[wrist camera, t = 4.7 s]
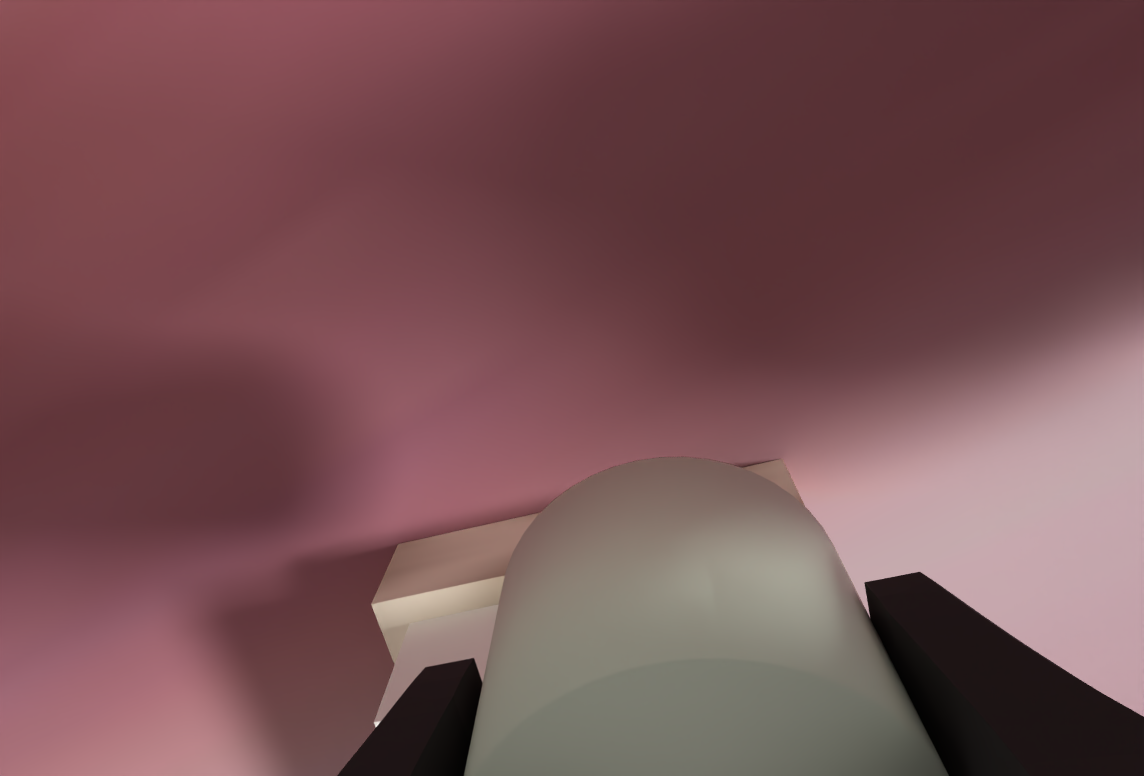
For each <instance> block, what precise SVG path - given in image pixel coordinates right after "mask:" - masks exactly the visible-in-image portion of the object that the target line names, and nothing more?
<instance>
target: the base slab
mask: <svg viewBox="0 0 1144 776" xmlns="http://www.w3.org/2000/svg"><path fill="white" fill-rule="evenodd" d="M743 469H746V470H748V471H751V472H754V473H756V474H758V475H760V476H762V477H764V478H766V479H768V480H770V481H772V482H773V483H775V484H777V485H778V486H779V487H781V488H782V489H784V490H785V491H787V492H788V493H790V494H791V495H792V496H794V497H795V498H796V499H797V500H798V501H799V502H800V503H801V504H802V505H803V506H805V505H804V503H803V501H802V499H801V497H800V495H799V493H798V491H797V489H796V486H795V484H794V482H793V480H792V478H791V476H790V474H789V472H788V470H787V467H786V465H785V463H784V461H783V459H779V460H774V461H770V462H765V463H761V464H756V465H752V466H747V467H743ZM540 513H541V512H540ZM540 513H536V514H531V515H527V516H523V517H518V518H514V519H509V520H505V521H500V522H496V523H491V524H487V525H482V526H478V527H473V528H469V529H464V530H460V531H455V532H451V533H446V534H442V535H437V536H433V537H428V538H424V539H419V540H415V541H410V542H406V543H401V544H398V546H397V548H396V550H395V552H394V555H393V557H392V559H391V561H390V563H389V566H388V568H387V570H386V572H385V574H384V577H383V579H382V581H381V583H380V586H379V588H378V590H377V592H376V594H375V597H374V599H373V601H372V603H371V605H372V608H373V611H374V613H375V616H376V618H377V621H378V623H379V626H380V629H381V631H382V634H383V636H384V639H385V641H386V644H387V647H388V649H389V652H390V654H391V657H392V659H393V662H394V665H395V662H396V659H397V657H398V654H399V651H400V648H401V646H402V643H403V640H404V637H405V635H406V632H407V629H408V626H409V624H410V623H413V622H418V621H422V620H427V619H432V618H437V617H441V616H446V615H451V614H455V613H460V612H465V611H469V610H474V609H479V608H483V607H488V606H493V605H497V604H499V600H500V596H501V591H502V586H503V582H504V577H505V573H506V569H507V566H508V564H509V561H510V559H511V556H512V554H513V551H514V549H515V548H516V546H517V544H518V542H519V541H520V539H521V537H522V535H523V534H524V532H525V531H526V530H527V528H528V527H529V526H530V524H531V523H532V522H533V521H534V519H535V518H536V517H537V516H538V515H539V514H540Z"/></svg>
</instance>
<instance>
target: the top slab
mask: <svg viewBox="0 0 1144 776" xmlns="http://www.w3.org/2000/svg"><path fill="white" fill-rule="evenodd" d="M498 605H499V604H497V605H493V606H488V607H483V608H479V609H474V610H469V611H465V612H460V613H455V614H451V615H446V616H441V617H437V618H432V619H427V620H422V621H418V622H413V623H410V624H409V626H408V629H407V632H406V635H405V637H404V640H403V643H402V646H401V648H400V651H399V654H398V657H397V659H396V662H395V665H394V668H393V671H392V673H391V676H390V679H389V682H388V684H387V687H386V690H385V693H384V695H383V698H382V701H381V704H380V706H379V709H378V712H377V715H376V717H375V720H374V724H375V727H377V726H378V724H379V723H380V722H381V721H382V719H383V718H384V717H385V716H386V714H387V713H388V712H389V711H390V709H391V708H392V707H393V705H394V704H395V703H396V702H397V700H398V699H399V698H400V697H401V695H402V694H403V693H404V692H405V690H406V689H407V688H408V687H409V685H410V684H411V683H412V682H413V681H414V679H415V678H416V677H417V676H418V675H419V674H420V673H421V671H422V670H423V669H424V668H425V667H429V666H434V665H439V664H445V663H450V662H455V661H460V660H465V659H470V658H474V659H475V662H476V665H477V668H478V671H479V674H480V677H481V680H482V683H483V679H484V674H485V669H486V664H487V659H488V654H489V649H490V645H491V640H492V635H493V630H494V625H495V620H496V615H497V610H498Z"/></svg>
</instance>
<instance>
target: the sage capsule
mask: <svg viewBox="0 0 1144 776" xmlns="http://www.w3.org/2000/svg"><path fill="white" fill-rule="evenodd" d="M464 776H949V775H948V773H947V771H946V769H945V767H944V765H943V763H942V761H941V759H940V757H939V755H938V753H937V751H936V749H935V747H934V745H933V743H932V741H931V739H930V737H929V735H928V733H927V731H926V729H925V727H924V725H923V723H922V721H921V719H920V717H919V715H918V713H917V711H916V709H915V707H914V705H913V703H912V701H911V699H910V697H909V695H908V693H907V691H906V689H905V687H904V685H903V683H902V681H901V679H900V677H899V675H898V673H897V671H896V669H895V667H894V665H893V663H892V661H891V659H890V657H889V655H888V653H887V651H886V649H885V647H884V645H883V643H882V641H881V639H880V637H879V635H878V633H877V631H876V629H875V627H874V625H873V623H872V621H871V619H870V617H869V615H868V613H867V611H866V609H865V607H864V605H863V603H862V601H861V599H860V597H859V595H858V593H857V591H856V589H855V587H854V585H853V583H852V581H851V579H850V577H849V575H848V573H847V571H846V569H845V567H844V565H843V563H842V561H841V559H840V557H839V555H838V553H837V551H836V549H835V547H834V545H833V544H832V542H831V540H830V539H829V537H828V535H827V534H826V532H825V530H824V529H823V527H822V526H821V525H820V523H819V522H818V521H817V520H816V518H815V517H814V516H813V515H812V514H811V512H810V511H809V510H808V509H807V508H806V507H805V506H803V505H802V504H801V503H800V502H799V501H798V500H797V499H796V498H795V497H794V496H792V495H791V494H790V493H788V492H787V491H785V490H784V489H782V488H781V487H779V486H778V485H777V484H775V483H773V482H772V481H770V480H768V479H766V478H764V477H762V476H760V475H758V474H756V473H754V472H751V471H748V470H746V469H743V468H740V467H737V466H734V465H732V464H727V463H723V462H718V461H714V460H709V459H701V458H691V457H659V458H652V459H645V460H638V461H633V462H630V463H626V464H622V465H618V466H615V467H612V468H609V469H607V470H604V471H602V472H599V473H597V474H594V475H592V476H590V477H588V478H586V479H585V480H583V481H581V482H579V483H577V484H576V485H574V486H572V487H570V488H569V489H568V490H566V491H565V492H564V493H562V494H561V495H560V496H558V497H557V498H556V499H554V500H553V501H552V502H551V503H550V504H549V505H548V506H547V507H546V508H545V509H544V510H543V511H542V512H541V513H540V514H539V515H538V516H537V517H536V518H535V519H534V521H533V522H532V523H531V524H530V526H529V527H528V528H527V530H526V531H525V532H524V534H523V535H522V537H521V539H520V541H519V542H518V544H517V546H516V548H515V549H514V551H513V554H512V556H511V559H510V561H509V564H508V566H507V569H506V573H505V577H504V582H503V586H502V591H501V596H500V600H499V605H498V610H497V615H496V620H495V625H494V630H493V635H492V640H491V645H490V649H489V654H488V659H487V664H486V669H485V674H484V679H483V684H482V689H481V694H480V698H479V703H478V708H477V713H476V718H475V723H474V728H473V733H472V738H471V743H470V747H469V752H468V757H467V762H466V767H465V772H464Z"/></svg>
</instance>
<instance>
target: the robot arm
mask: <svg viewBox="0 0 1144 776" xmlns="http://www.w3.org/2000/svg"><path fill="white" fill-rule="evenodd" d="M865 588H866V594H867V601H868V607H869V613H870V619H871V621H872V623H873V625H874V627H875V629H876V631H877V633H878V635H879V637H880V639H881V641H882V643H883V645H884V647H885V649H886V651H887V653H888V655H889V657H890V659H891V661H892V663H893V665H894V667H895V669H896V671H897V673H898V675H899V677H900V679H901V681H902V683H903V685H904V687H905V689H906V691H907V693H908V695H909V697H910V699H911V701H912V703H913V705H914V707H915V709H916V711H917V713H918V715H919V717H920V719H921V721H922V723H923V725H924V727H925V729H926V731H927V733H928V735H929V737H930V739H931V741H932V743H933V745H934V747H935V749H936V751H937V753H938V755H939V757H940V759H941V761H942V763H943V765H944V767H945V769H946V771H947V773H948V775H949V776H1144V717H1143V716H1141V715H1140V714H1138V713H1136V712H1134V711H1132V710H1131V709H1129V708H1127V707H1125V706H1124V705H1122V704H1120V703H1118V702H1117V701H1115V700H1113V699H1111V698H1110V697H1108V696H1106V695H1104V694H1102V693H1101V692H1099V691H1097V690H1096V689H1094V688H1093V687H1091V686H1089V685H1088V684H1086V683H1084V682H1083V681H1081V680H1079V679H1078V678H1076V677H1075V676H1073V675H1072V674H1070V673H1069V672H1067V671H1065V670H1064V669H1062V668H1061V667H1059V666H1058V665H1056V664H1054V663H1053V662H1051V661H1050V660H1048V659H1047V658H1045V657H1044V656H1042V655H1040V654H1039V653H1037V652H1036V651H1034V650H1033V649H1031V648H1030V647H1028V646H1027V645H1025V644H1024V643H1022V642H1021V641H1019V640H1018V639H1016V638H1015V637H1013V636H1012V635H1010V634H1009V633H1007V632H1006V631H1004V630H1003V629H1001V628H1000V627H998V626H997V625H996V624H994V623H993V622H991V621H990V620H988V619H987V618H985V617H984V616H983V615H981V614H980V613H978V612H977V611H975V610H974V609H973V608H971V607H970V606H968V605H967V604H966V603H964V602H963V601H961V600H960V599H958V598H957V597H956V596H954V595H953V594H951V593H950V592H949V591H947V590H946V589H944V588H943V587H942V586H940V585H939V584H937V583H936V582H934V581H933V580H931V579H930V578H928V577H927V576H925V575H924V574H922V573H921V572H916V573H911V574H906V575H901V576H896V577H891V578H885V579H880V580H875V581H870V582H865ZM482 684H483V683H482V680H481V677H480V674H479V671H478V668H477V665H476V662H475V659H474V658H470V659H465V660H460V661H455V662H450V663H445V664H439V665H434V666H429V667H425V668H424V669H423V670H422V671H421V673H420V674H419V675H418V676H417V677H416V678H415V679H414V681H413V682H412V683H411V684H410V685H409V687H408V688H407V689H406V690H405V692H404V693H403V694H402V695H401V697H400V698H399V699H398V700H397V702H396V703H395V704H394V705H393V707H392V708H391V709H390V711H389V712H388V713H387V714H386V716H385V717H384V718H383V719H382V721H381V722H380V723H379V724H378V726H377V727H376V728H375V730H374V731H373V732H372V733H371V735H370V736H369V737H368V738H367V740H366V741H365V742H364V743H363V745H362V746H361V747H360V748H359V750H358V751H357V752H356V753H355V754H354V756H353V757H352V758H351V759H350V761H349V762H348V763H347V764H346V766H345V767H344V768H343V769H342V770H341V772H340V773H339V774H338V775H337V776H464V772H465V767H466V762H467V757H468V752H469V747H470V743H471V738H472V733H473V728H474V723H475V718H476V713H477V708H478V703H479V698H480V694H481V689H482Z"/></svg>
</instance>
